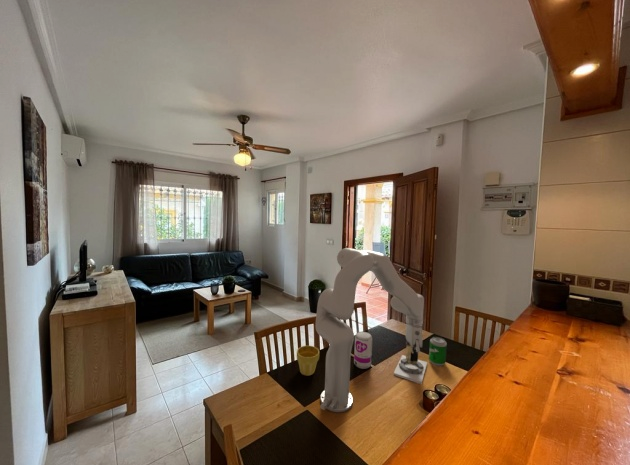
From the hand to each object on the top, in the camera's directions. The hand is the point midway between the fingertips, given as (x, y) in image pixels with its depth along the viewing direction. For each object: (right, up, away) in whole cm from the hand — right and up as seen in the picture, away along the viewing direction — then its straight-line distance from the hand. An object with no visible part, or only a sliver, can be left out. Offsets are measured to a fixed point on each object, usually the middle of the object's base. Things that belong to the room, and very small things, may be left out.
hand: (411, 357), depth 125 cm
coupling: (0, -2, 0) cm, 2 cm away
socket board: (0, -6, 0) cm, 6 cm away
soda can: (+15, -6, +7) cm, 18 cm away
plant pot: (-49, -5, -3) cm, 50 cm away
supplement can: (-23, -5, +3) cm, 24 cm away
